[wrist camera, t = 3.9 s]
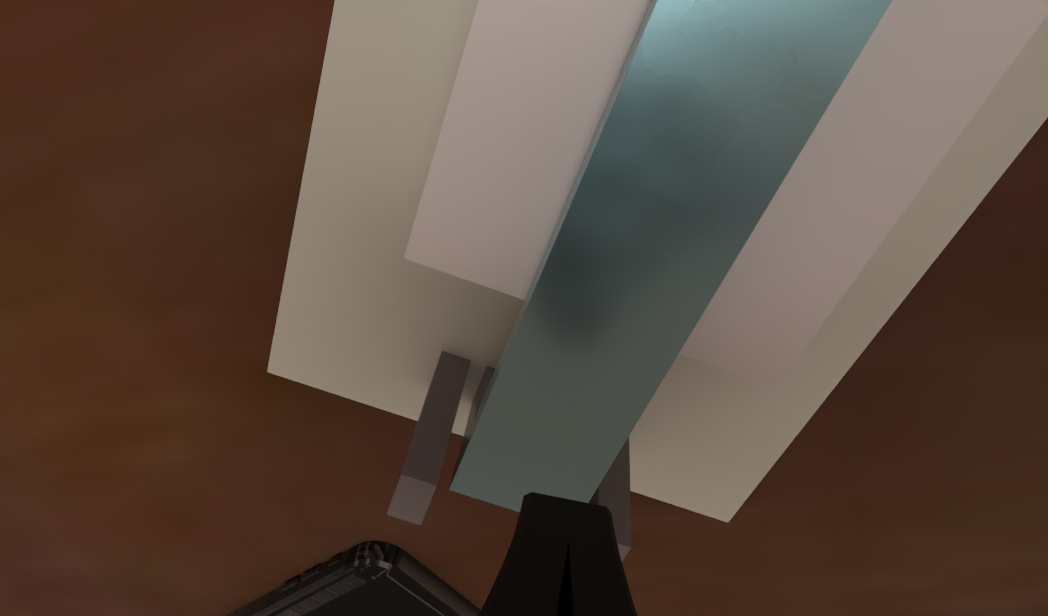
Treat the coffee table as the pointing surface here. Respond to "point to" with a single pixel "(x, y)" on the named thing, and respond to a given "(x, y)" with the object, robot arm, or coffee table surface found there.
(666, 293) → the retention strap
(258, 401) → the coffee table surface
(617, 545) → the robot arm
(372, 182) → the socket board
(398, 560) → the phone
